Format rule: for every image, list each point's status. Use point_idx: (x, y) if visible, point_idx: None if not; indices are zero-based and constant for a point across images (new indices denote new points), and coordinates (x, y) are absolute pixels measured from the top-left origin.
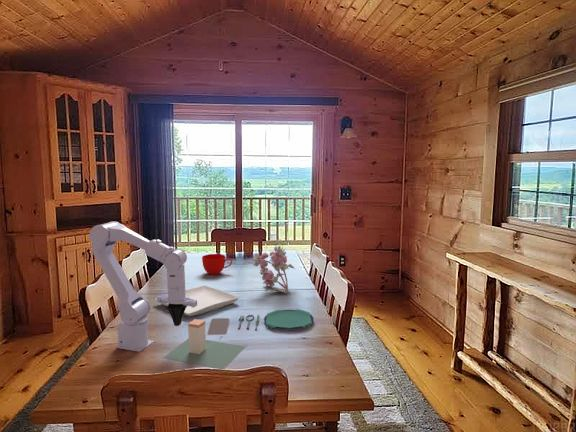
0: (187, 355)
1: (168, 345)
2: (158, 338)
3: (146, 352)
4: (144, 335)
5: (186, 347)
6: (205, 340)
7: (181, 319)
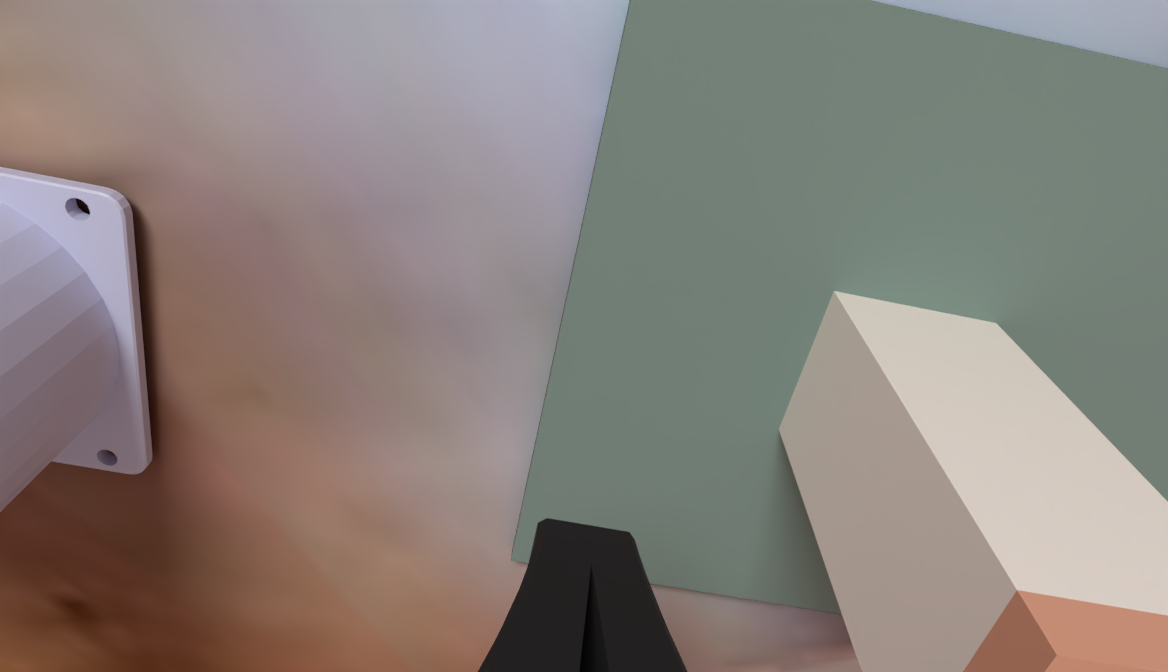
0: (779, 494)
1: (400, 250)
2: (88, 33)
3: (237, 448)
4: (13, 461)
5: (703, 319)
6: (1060, 397)
7: (654, 621)
